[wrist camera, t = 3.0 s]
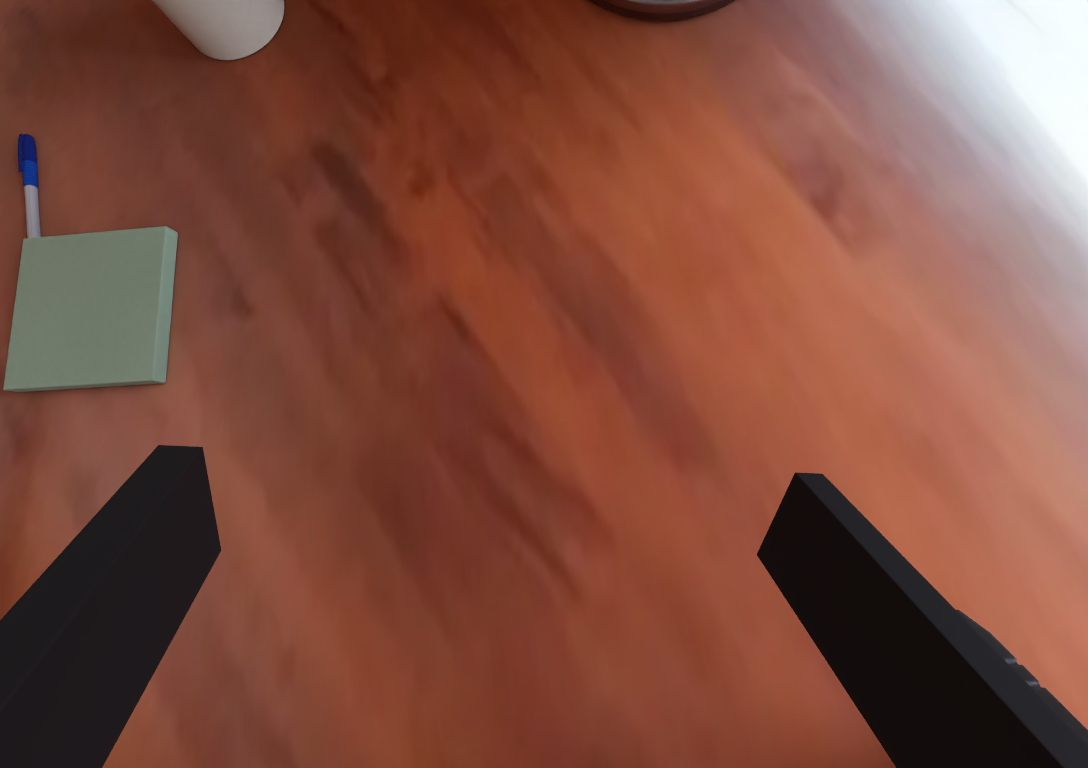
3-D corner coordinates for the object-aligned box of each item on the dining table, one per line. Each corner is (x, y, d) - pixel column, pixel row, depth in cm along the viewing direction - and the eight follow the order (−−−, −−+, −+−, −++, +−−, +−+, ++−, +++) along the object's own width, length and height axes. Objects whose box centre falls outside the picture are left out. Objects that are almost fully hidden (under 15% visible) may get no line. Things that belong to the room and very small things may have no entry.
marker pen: (26, 141, 36) (10, 132, 35) (37, 137, 36) (21, 128, 35) (39, 277, 34) (22, 271, 33) (50, 273, 34) (34, 267, 33)
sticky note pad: (39, 244, 34) (22, 238, 33) (178, 232, 33) (166, 225, 32) (20, 392, 33) (2, 389, 32) (166, 383, 32) (152, 380, 31)
